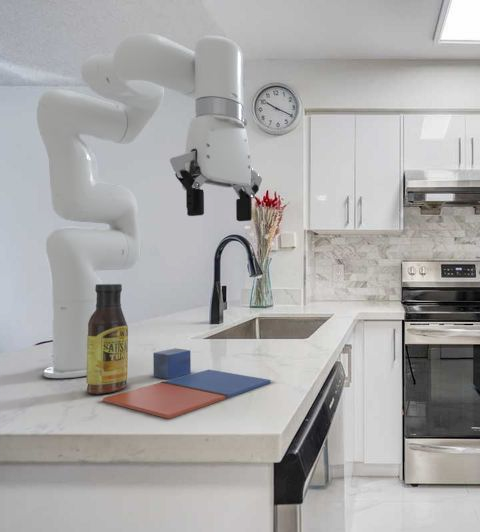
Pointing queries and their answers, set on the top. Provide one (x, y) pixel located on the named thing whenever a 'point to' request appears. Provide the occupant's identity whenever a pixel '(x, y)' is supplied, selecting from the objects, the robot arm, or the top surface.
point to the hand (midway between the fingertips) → (221, 218)
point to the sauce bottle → (107, 342)
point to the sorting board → (186, 393)
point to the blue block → (172, 363)
